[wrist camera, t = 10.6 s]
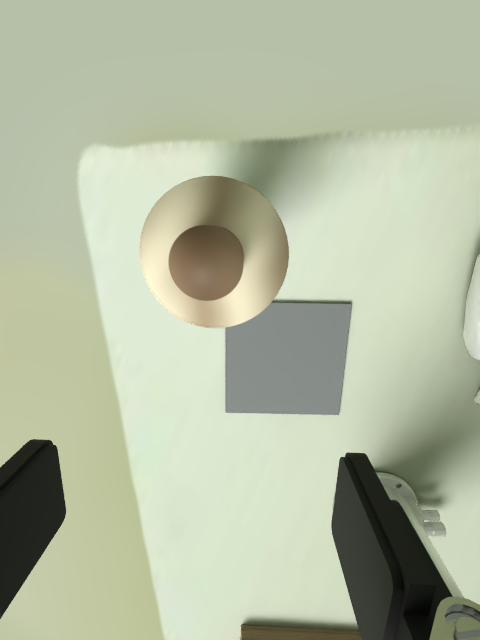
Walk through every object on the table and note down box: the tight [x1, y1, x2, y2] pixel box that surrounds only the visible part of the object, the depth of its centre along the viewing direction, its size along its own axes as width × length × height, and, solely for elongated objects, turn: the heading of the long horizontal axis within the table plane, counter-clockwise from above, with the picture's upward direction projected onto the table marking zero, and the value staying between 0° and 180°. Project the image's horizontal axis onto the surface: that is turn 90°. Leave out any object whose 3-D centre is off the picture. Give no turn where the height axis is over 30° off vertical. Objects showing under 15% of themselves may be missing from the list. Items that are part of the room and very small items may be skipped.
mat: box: [226, 302, 352, 415], centre depth 42 cm, size 16×16×1 cm
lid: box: [140, 176, 289, 328], centre depth 21 cm, size 11×11×6 cm
